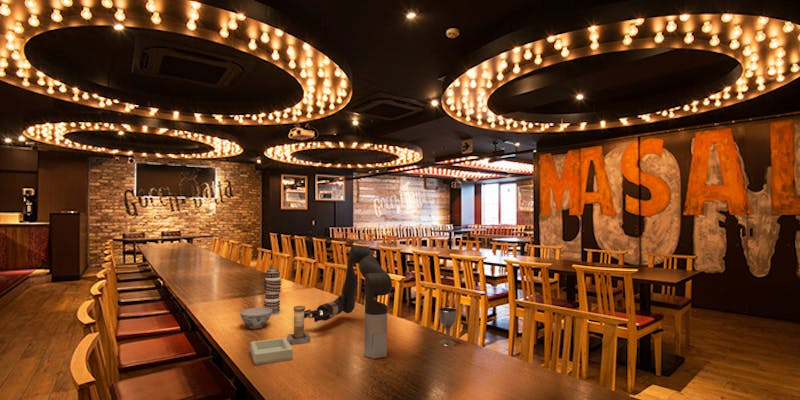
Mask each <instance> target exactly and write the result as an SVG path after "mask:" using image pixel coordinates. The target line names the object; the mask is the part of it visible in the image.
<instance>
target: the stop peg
mask: <svg viewBox="0 0 800 400" xmlns="http://www.w3.org/2000/svg"><path fill="white" fill-rule="evenodd" d="M293 311H294V313H293V315H294V317H293V334H294V339H297V338H304V332H305V318H304V311H306V306H305V305H296V306H294V307H293Z"/></svg>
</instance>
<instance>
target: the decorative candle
mask: <svg viewBox="0 0 800 400" xmlns="http://www.w3.org/2000/svg"><path fill="white" fill-rule="evenodd" d="M280 273H281V271H280V270H279V269H278V268H268V269H267V270H266V271H265V279H264V283H263V284H264V285H263V286H264V295H265V298H264V302H263V303H264V304H263V306H264V307H263V308H269V309H271V310H272V313H271V316H270V317H272V316H277V315H280V311H281V310H280V309H281V307H280V305H281V303H280V302H281V301H280V300H281V299H280V293H281V290H280V289H281V285H282V280H281V277H280V276H281V275H280Z"/></svg>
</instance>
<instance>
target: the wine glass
mask: <svg viewBox="0 0 800 400" xmlns="http://www.w3.org/2000/svg"><path fill="white" fill-rule="evenodd" d="M457 311H458V310H457V309H456V308H455V307H446V306H445V307H439V309H438V317H439V321H440V323H441V324H442V326H443V327H444V329H445V331H446V340H445V339H444V340H441V341H439V345H441V346H449V347H451V346H455V345H456V342H455V341H453V340H449V335H450V329H451V328H452V327H453V326H454V325H455V323H456V320H457V316H458V315H457Z"/></svg>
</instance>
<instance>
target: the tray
mask: <svg viewBox="0 0 800 400" xmlns="http://www.w3.org/2000/svg"><path fill="white" fill-rule="evenodd" d="M293 351H294V350H293V348H292V346H291V344H289V342H288V341H287V337H280V338H278V337H277V338H272V339H270V338H269V339H264V340H255V341H250V355H251V358H252V362H253V365H254V366H259V365H260V366H261V365H267V364H271V363H272V364H273V363H280V362H287V361H293V357H294V356H293V354H294V353H293Z"/></svg>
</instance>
